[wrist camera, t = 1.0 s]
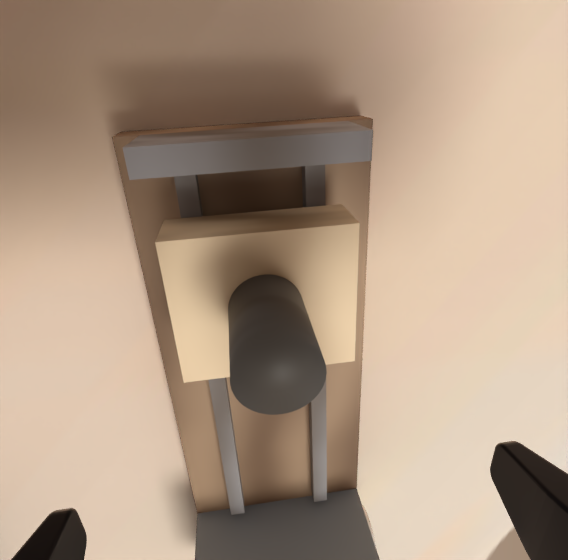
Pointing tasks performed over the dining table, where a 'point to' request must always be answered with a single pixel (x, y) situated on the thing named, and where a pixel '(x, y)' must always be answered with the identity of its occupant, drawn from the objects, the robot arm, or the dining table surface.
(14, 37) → the dining table surface
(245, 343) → the carriage
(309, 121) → the rail track
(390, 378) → the dining table surface
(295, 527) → the gray block
